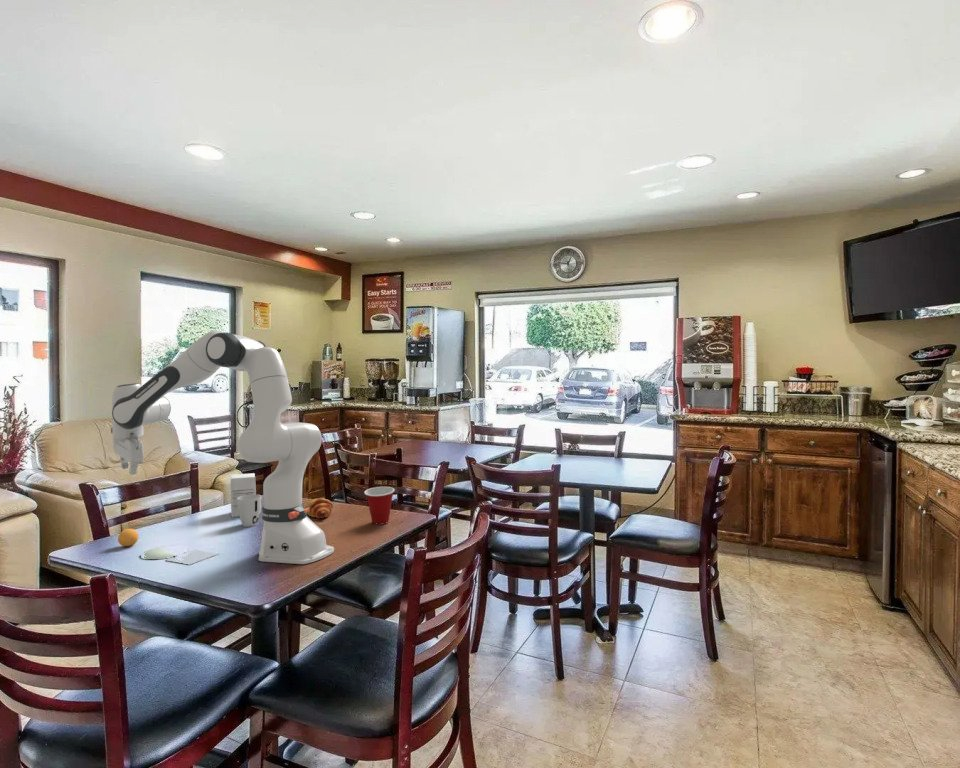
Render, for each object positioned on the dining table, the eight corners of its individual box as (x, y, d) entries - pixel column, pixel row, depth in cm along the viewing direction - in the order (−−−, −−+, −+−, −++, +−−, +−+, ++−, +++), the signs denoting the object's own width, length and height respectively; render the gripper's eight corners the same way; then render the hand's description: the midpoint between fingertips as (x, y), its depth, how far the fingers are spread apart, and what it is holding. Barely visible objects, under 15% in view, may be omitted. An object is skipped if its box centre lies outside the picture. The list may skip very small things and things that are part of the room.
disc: (198, 548, 168) (198, 548, 168) (159, 562, 157) (159, 561, 157) (169, 543, 174) (169, 543, 174) (129, 556, 162) (129, 556, 162)
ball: (142, 544, 173) (142, 527, 173) (125, 549, 168) (125, 532, 168) (131, 542, 176) (130, 525, 175) (114, 547, 170) (113, 530, 170)
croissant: (306, 518, 217) (296, 501, 215) (329, 503, 221) (319, 487, 219) (317, 530, 198) (306, 512, 196) (341, 514, 202) (330, 496, 201)
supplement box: (231, 512, 214) (230, 474, 214) (255, 509, 217) (255, 472, 217) (230, 517, 205) (230, 478, 205) (256, 514, 209) (255, 476, 209)
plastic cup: (358, 525, 192) (358, 492, 192) (374, 517, 202) (373, 485, 202) (386, 527, 189) (385, 493, 188) (400, 519, 199) (399, 487, 199)
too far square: (218, 554, 163) (218, 553, 163) (189, 565, 154) (189, 564, 154) (195, 550, 167) (195, 549, 167) (165, 560, 158) (165, 560, 158)
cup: (256, 527, 191) (255, 499, 191) (233, 527, 191) (233, 499, 191) (265, 521, 199) (265, 494, 199) (244, 521, 199) (243, 494, 199)
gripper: (148, 435, 178) (148, 476, 179) (130, 425, 192) (130, 464, 193) (126, 437, 173) (126, 479, 174) (109, 427, 187) (110, 466, 188)
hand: (128, 471), depth 184 cm, fingers open, 8 cm apart
